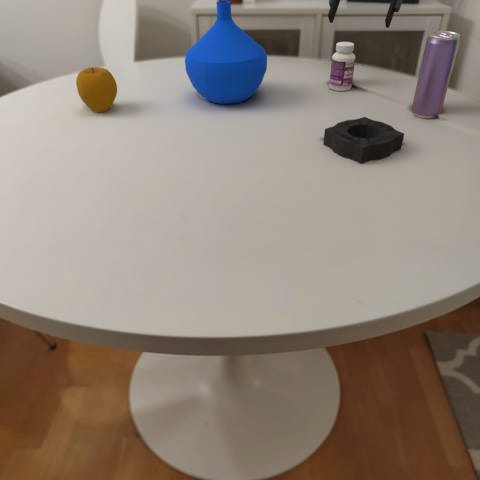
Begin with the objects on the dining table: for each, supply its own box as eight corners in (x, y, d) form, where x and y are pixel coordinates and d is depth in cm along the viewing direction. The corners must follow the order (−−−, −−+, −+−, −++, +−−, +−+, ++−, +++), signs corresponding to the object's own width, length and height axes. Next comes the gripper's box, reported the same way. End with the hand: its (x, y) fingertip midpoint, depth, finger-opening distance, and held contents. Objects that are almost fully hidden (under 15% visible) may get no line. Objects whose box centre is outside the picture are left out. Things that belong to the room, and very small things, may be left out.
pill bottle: (346, 93, 107) (352, 47, 100) (325, 89, 109) (329, 45, 102) (354, 86, 110) (360, 42, 104) (334, 83, 112) (338, 39, 106)
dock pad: (406, 149, 83) (410, 133, 81) (360, 166, 79) (363, 150, 77) (362, 129, 90) (364, 114, 88) (317, 143, 86) (319, 128, 84)
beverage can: (427, 121, 93) (447, 39, 83) (404, 112, 96) (421, 33, 87) (446, 114, 95) (468, 34, 85) (423, 106, 99) (441, 29, 89)
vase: (186, 113, 100) (176, 12, 87) (190, 85, 113) (182, -5, 101) (269, 109, 100) (271, 9, 87) (263, 83, 114) (264, -8, 101)
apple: (129, 107, 103) (121, 65, 98) (101, 119, 98) (91, 76, 92) (102, 100, 107) (93, 60, 101) (74, 112, 102) (63, 70, 96)
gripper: (442, -51, 105) (412, 36, 105) (338, -54, 114) (311, 27, 115) (444, -79, 98) (412, 14, 98) (333, -79, 107) (304, 6, 108)
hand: (357, 21), depth 106 cm, fingers open, 13 cm apart
